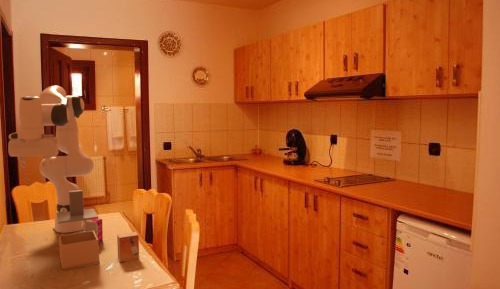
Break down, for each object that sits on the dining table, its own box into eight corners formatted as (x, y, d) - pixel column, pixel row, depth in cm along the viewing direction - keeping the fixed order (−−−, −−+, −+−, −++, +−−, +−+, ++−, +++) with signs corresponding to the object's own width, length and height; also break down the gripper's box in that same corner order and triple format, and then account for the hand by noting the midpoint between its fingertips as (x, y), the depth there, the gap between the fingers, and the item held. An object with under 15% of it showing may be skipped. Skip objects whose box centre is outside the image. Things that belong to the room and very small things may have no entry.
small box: (120, 262, 166) (118, 237, 165) (117, 258, 171) (116, 234, 170) (139, 259, 170) (138, 234, 169) (136, 254, 175) (135, 231, 174)
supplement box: (96, 246, 186) (95, 221, 185) (85, 245, 188) (83, 221, 187) (103, 241, 192) (102, 218, 191) (92, 241, 193) (91, 217, 192)
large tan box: (60, 258, 172) (58, 235, 171) (94, 252, 178) (93, 230, 177) (62, 269, 159) (60, 245, 158) (99, 263, 166) (98, 239, 165)
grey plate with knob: (56, 214, 170) (55, 189, 169) (93, 210, 177) (92, 186, 176) (58, 223, 157) (56, 196, 156) (98, 218, 164) (97, 192, 163)
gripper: (60, 133, 172) (62, 165, 174) (14, 134, 174) (16, 165, 175) (52, 134, 166) (54, 167, 167) (4, 135, 167) (7, 168, 169)
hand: (34, 166), depth 171 cm, fingers open, 8 cm apart
